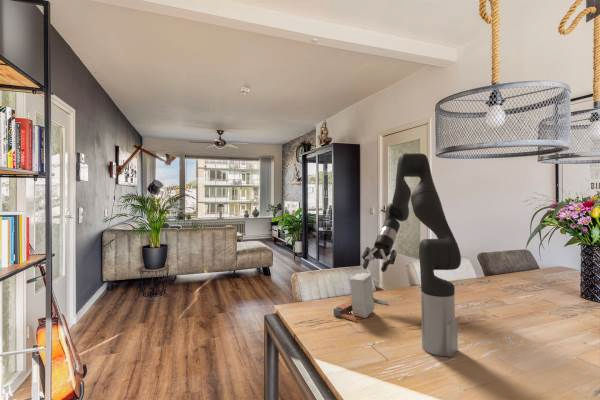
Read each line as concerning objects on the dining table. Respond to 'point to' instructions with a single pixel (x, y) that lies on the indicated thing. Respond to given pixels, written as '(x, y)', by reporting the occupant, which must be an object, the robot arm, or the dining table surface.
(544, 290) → the dining table surface
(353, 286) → the skincare box
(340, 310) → the rail
